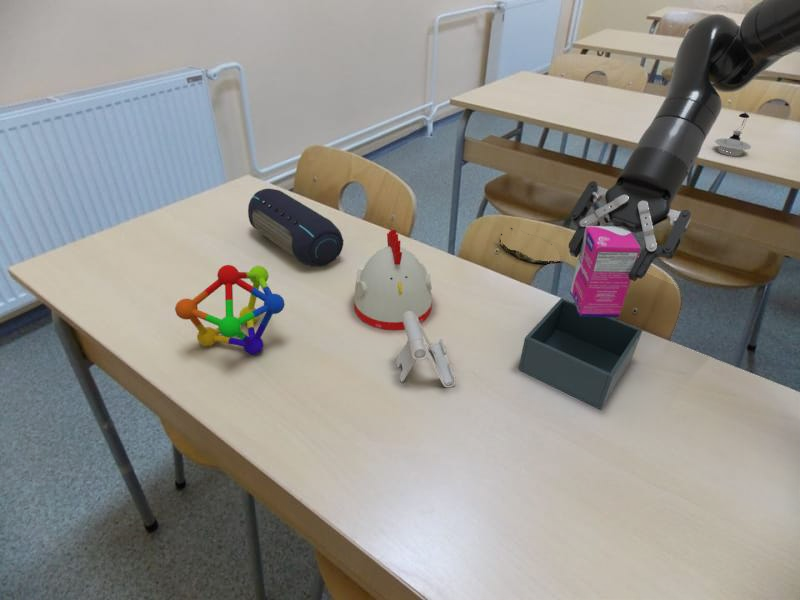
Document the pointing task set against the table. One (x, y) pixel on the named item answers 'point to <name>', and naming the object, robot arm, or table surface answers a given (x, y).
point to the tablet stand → (423, 351)
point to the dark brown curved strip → (524, 256)
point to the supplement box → (604, 270)
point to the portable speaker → (295, 227)
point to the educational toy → (229, 323)
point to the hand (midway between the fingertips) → (601, 266)
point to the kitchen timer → (392, 287)
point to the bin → (579, 352)
